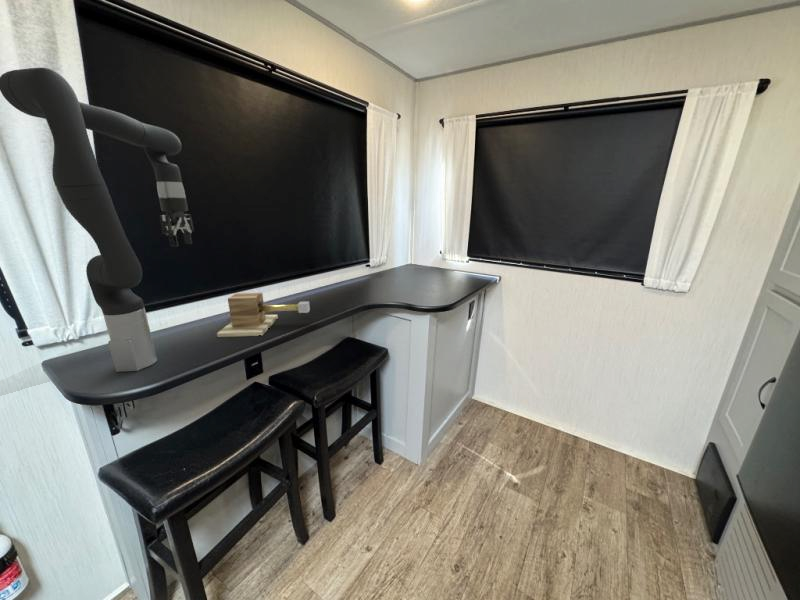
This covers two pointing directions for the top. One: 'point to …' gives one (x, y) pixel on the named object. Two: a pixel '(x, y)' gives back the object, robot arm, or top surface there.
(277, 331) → the top surface
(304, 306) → the bolt
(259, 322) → the block
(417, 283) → the top surface
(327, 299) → the top surface
